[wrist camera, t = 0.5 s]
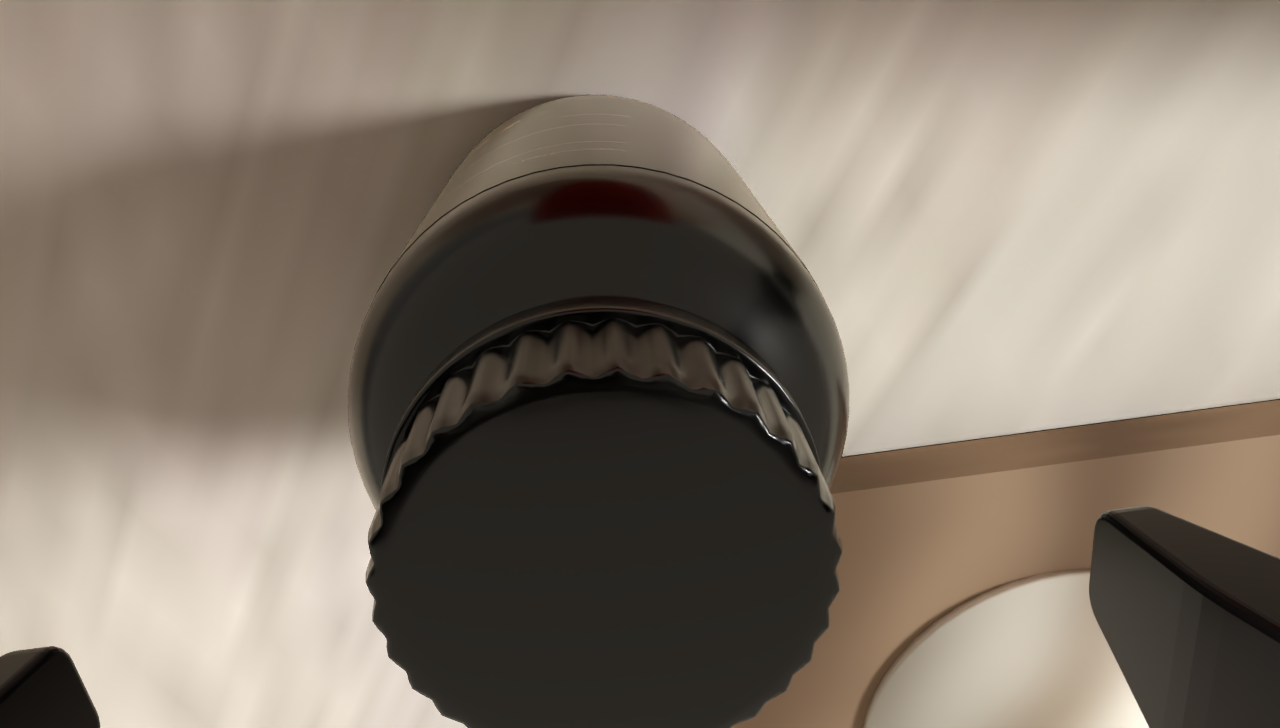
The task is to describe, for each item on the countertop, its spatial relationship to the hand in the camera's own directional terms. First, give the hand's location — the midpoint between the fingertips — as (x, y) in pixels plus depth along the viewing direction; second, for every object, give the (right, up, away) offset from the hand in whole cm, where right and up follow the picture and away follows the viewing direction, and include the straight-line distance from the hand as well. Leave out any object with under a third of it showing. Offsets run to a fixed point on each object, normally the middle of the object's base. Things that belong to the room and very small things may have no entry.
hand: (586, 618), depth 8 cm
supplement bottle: (-1, +5, +12) cm, 13 cm away
